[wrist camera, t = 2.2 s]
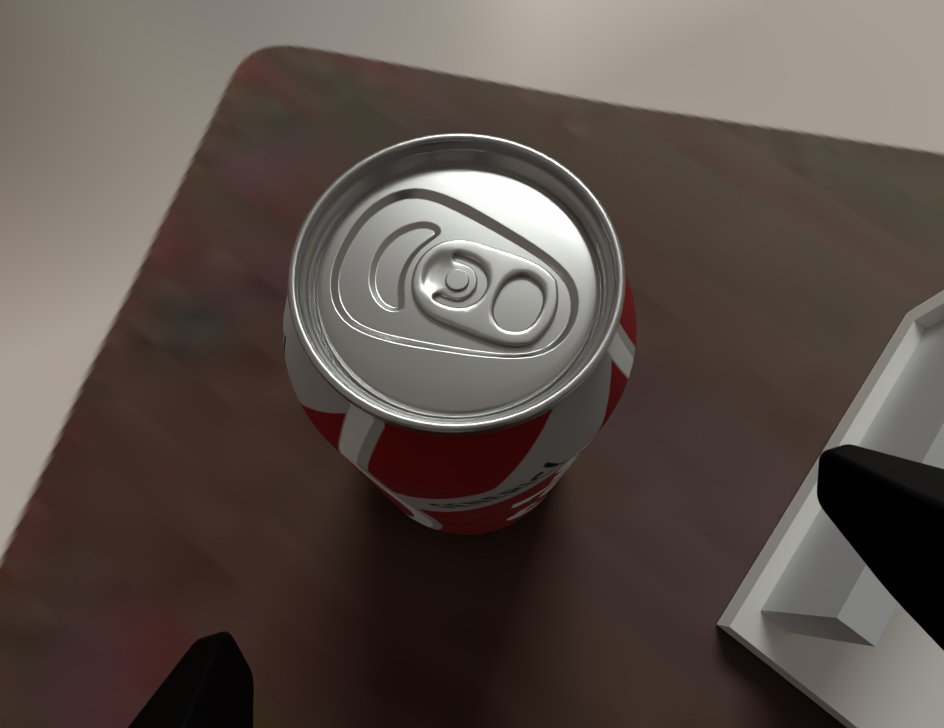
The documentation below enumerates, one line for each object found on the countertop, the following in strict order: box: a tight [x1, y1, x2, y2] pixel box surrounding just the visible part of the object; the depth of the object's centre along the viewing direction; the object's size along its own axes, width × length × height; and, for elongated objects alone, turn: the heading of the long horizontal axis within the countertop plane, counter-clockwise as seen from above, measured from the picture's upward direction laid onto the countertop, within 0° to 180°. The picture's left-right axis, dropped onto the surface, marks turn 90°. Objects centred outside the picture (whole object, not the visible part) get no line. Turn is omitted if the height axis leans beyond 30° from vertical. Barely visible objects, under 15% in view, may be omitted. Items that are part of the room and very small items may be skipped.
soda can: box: [283, 133, 637, 535], centre depth 15 cm, size 7×7×12 cm
